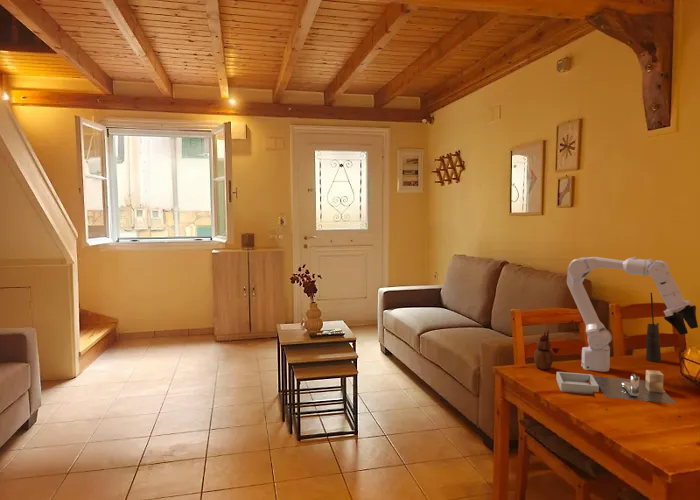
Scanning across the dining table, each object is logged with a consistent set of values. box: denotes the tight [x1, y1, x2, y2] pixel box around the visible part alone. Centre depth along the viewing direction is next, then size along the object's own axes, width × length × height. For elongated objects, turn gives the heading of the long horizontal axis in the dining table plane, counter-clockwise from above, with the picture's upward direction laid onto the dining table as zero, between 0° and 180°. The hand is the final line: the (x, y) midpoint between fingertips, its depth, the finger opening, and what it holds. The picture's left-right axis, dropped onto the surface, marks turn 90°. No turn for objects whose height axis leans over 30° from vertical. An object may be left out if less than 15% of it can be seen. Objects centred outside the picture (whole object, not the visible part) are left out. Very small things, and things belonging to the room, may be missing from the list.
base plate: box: [592, 375, 677, 405], centre depth 160 cm, size 20×20×1 cm
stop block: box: [645, 369, 665, 393], centre depth 159 cm, size 4×4×6 cm
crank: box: [621, 373, 640, 396], centre depth 157 cm, size 12×4×7 cm, turn 164°
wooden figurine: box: [533, 330, 554, 370], centre depth 184 cm, size 7×6×15 cm
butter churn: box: [645, 292, 662, 363], centre depth 192 cm, size 9×10×28 cm
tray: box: [555, 371, 600, 395], centre depth 165 cm, size 12×12×3 cm
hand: (689, 331), depth 160 cm, fingers open, 7 cm apart
